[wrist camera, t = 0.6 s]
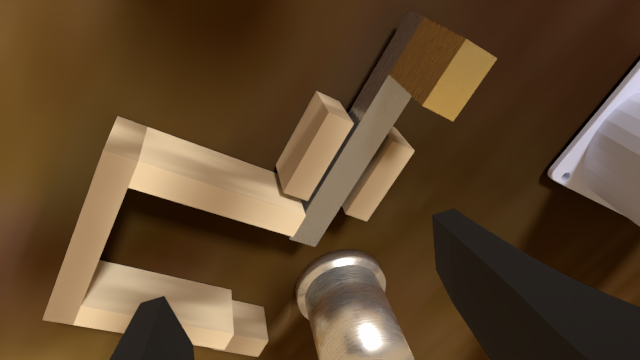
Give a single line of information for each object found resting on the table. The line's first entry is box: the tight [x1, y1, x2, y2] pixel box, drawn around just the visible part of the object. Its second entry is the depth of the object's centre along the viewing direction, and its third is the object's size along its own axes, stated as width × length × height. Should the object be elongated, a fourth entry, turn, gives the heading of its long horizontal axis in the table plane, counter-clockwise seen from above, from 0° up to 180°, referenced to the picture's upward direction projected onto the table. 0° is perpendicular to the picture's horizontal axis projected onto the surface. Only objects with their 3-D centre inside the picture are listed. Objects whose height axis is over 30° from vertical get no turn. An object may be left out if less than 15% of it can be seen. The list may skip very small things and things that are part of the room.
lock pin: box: [288, 9, 497, 247], centre depth 18 cm, size 1×11×5 cm, turn 151°
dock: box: [43, 91, 415, 357], centre depth 20 cm, size 11×14×3 cm
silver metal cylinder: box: [295, 250, 414, 360], centre depth 23 cm, size 5×5×6 cm
